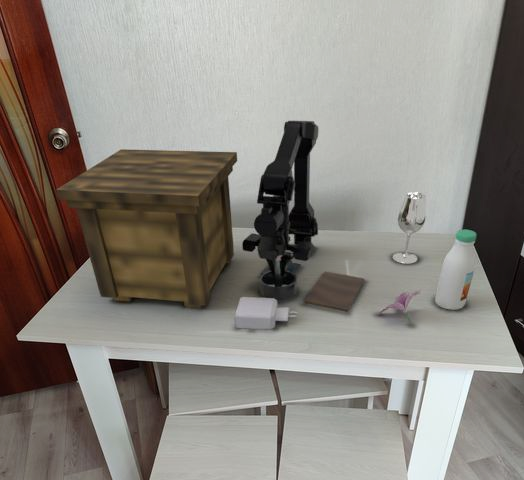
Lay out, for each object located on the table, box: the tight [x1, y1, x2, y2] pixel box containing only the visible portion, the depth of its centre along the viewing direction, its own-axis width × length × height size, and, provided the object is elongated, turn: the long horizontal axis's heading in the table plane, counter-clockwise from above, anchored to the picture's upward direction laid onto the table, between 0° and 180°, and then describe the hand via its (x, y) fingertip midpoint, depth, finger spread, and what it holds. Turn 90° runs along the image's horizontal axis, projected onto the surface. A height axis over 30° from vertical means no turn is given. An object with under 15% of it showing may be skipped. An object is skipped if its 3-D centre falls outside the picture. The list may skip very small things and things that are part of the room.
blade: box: [269, 256, 287, 287], centre depth 130 cm, size 7×7×10 cm
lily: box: [377, 288, 422, 326], centre depth 119 cm, size 12×12×10 cm
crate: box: [55, 148, 238, 309], centre depth 130 cm, size 35×35×33 cm
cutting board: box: [303, 271, 366, 313], centre depth 132 cm, size 18×12×1 cm, turn 156°
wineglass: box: [392, 191, 427, 265], centre depth 141 cm, size 8×8×20 cm
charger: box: [234, 296, 298, 330], centre depth 120 cm, size 5×9×15 cm
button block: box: [260, 260, 301, 276], centre depth 142 cm, size 10×9×3 cm
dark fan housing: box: [259, 271, 298, 301], centre depth 132 cm, size 10×10×4 cm
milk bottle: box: [434, 229, 477, 311], centre depth 120 cm, size 8×8×20 cm
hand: (278, 275), depth 130 cm, fingers closed
